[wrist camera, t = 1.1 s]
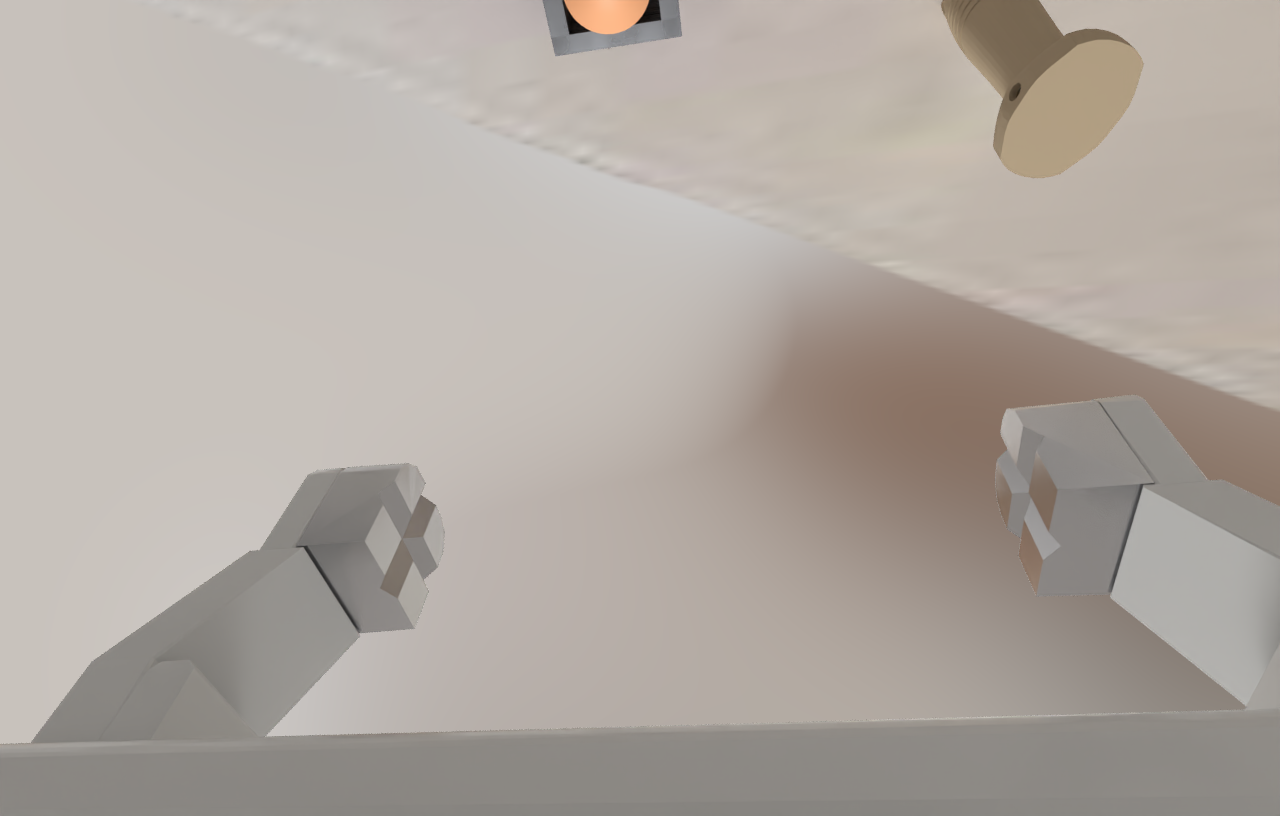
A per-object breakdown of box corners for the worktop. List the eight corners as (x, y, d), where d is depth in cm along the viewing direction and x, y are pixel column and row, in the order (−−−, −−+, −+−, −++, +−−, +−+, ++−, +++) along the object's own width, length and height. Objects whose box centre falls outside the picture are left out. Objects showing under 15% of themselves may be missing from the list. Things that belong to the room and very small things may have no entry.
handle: (900, 29, 45) (978, 165, 35) (960, -91, 40) (1070, 26, 30) (971, 49, 46) (1066, 187, 36) (1037, -66, 41) (1168, 56, 31)
